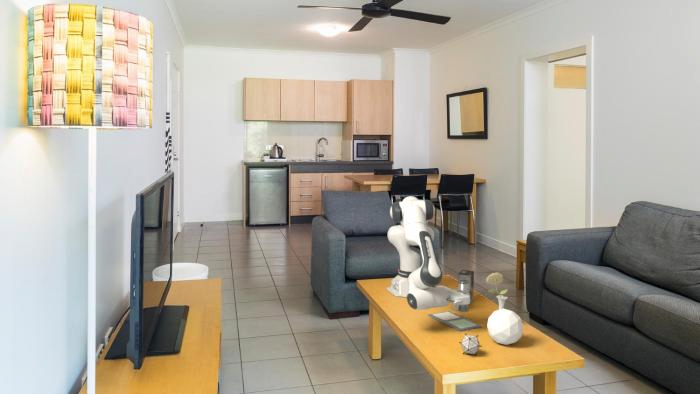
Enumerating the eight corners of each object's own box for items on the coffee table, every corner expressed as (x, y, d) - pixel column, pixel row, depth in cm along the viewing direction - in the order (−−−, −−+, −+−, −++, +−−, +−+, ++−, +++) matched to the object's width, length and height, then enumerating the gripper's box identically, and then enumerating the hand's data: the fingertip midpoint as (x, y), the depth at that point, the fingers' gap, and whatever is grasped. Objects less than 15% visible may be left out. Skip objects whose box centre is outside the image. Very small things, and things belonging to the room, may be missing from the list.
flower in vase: (514, 323, 241) (516, 271, 239) (513, 331, 230) (515, 277, 228) (485, 320, 245) (487, 268, 243) (483, 327, 235) (485, 274, 232)
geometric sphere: (494, 354, 217) (474, 323, 221) (518, 336, 224) (498, 306, 227) (512, 349, 205) (490, 316, 208) (537, 330, 211) (515, 298, 215)
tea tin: (455, 309, 238) (456, 280, 237) (463, 308, 240) (464, 279, 239) (461, 312, 234) (462, 282, 233) (470, 311, 236) (471, 281, 235)
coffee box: (461, 298, 281) (462, 269, 280) (473, 299, 278) (474, 270, 277) (457, 302, 273) (458, 272, 271) (469, 304, 270) (470, 274, 268)
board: (427, 315, 251) (428, 314, 251) (449, 312, 257) (449, 310, 257) (459, 331, 230) (459, 329, 230) (481, 327, 236) (481, 325, 236)
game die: (465, 361, 206) (454, 338, 210) (484, 354, 206) (473, 330, 210) (467, 359, 198) (456, 334, 202) (487, 351, 198) (475, 327, 202)
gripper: (455, 295, 221) (480, 292, 227) (427, 284, 239) (451, 281, 246) (455, 310, 222) (479, 306, 228) (427, 297, 240) (450, 294, 246)
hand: (464, 293), depth 237 cm, fingers closed on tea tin, 5 cm apart
